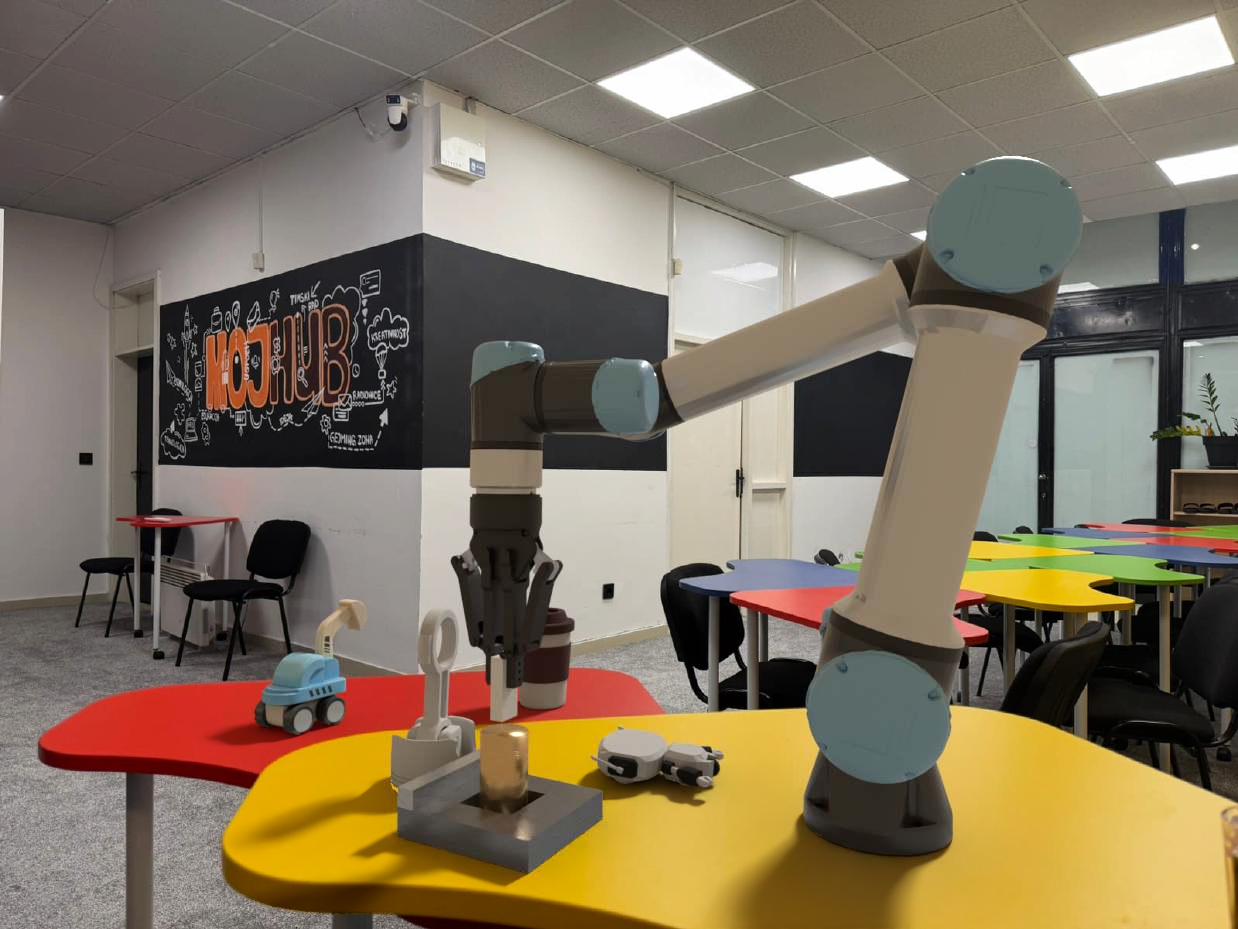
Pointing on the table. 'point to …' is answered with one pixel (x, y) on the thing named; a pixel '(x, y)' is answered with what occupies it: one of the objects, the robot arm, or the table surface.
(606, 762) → the robot toy
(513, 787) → the copper cylinder rod
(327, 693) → the toy excavator
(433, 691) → the engine component
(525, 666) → the coffee cup
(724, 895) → the table surface
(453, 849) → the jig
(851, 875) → the table surface
